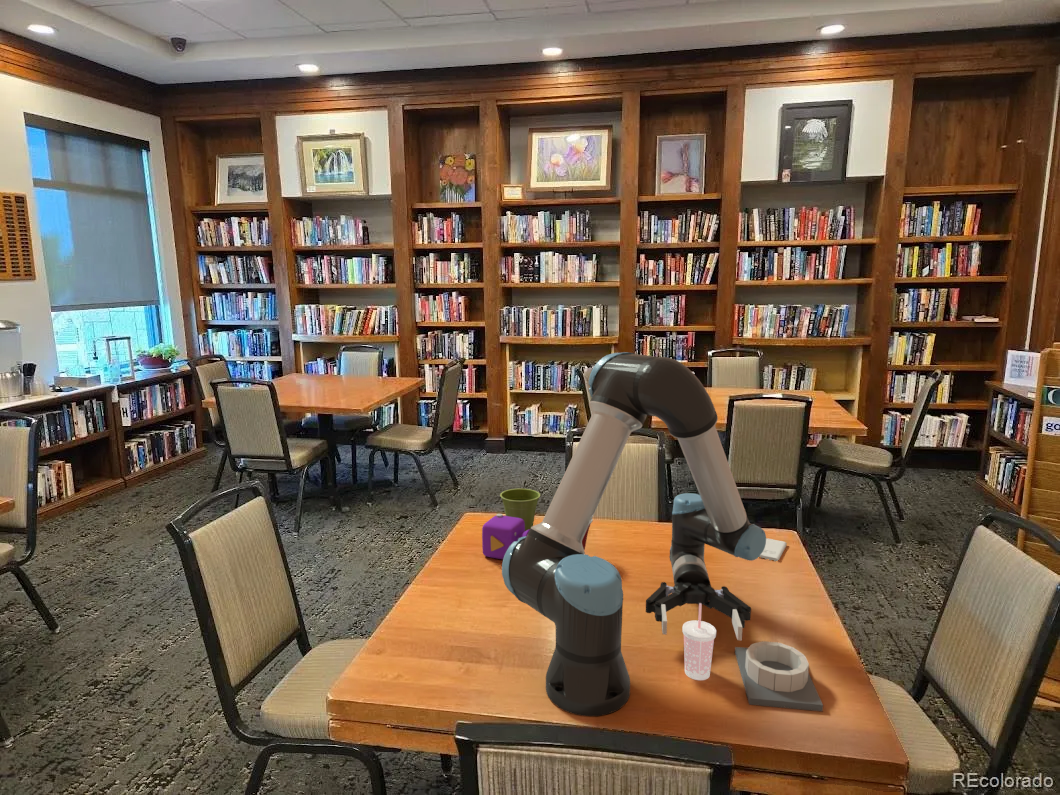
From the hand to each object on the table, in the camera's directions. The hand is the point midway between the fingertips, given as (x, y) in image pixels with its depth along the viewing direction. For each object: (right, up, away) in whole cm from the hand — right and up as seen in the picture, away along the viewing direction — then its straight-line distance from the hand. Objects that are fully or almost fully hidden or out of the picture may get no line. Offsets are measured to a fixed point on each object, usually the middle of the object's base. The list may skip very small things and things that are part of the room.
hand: (702, 630), depth 118 cm
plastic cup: (-21, 0, +50) cm, 54 cm away
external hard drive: (+33, +1, +56) cm, 65 cm away
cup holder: (+13, -9, -1) cm, 16 cm away
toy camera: (-38, +1, +54) cm, 66 cm away
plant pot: (-35, +4, +70) cm, 79 cm away
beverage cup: (-1, -8, +1) cm, 9 cm away
